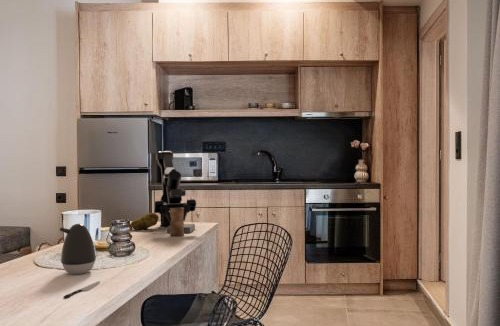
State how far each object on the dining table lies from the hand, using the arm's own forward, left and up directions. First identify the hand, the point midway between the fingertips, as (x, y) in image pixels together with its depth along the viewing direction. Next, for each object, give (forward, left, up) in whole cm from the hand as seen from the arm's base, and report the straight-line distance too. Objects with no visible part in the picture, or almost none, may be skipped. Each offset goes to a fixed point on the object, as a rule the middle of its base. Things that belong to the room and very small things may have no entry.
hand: (177, 220), depth 216 cm
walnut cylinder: (-1, +1, -7) cm, 7 cm away
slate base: (-2, +14, -7) cm, 15 cm away
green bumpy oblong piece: (-21, +19, -7) cm, 29 cm away
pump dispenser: (-16, -67, -7) cm, 69 cm away
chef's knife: (-5, -85, -7) cm, 85 cm away
